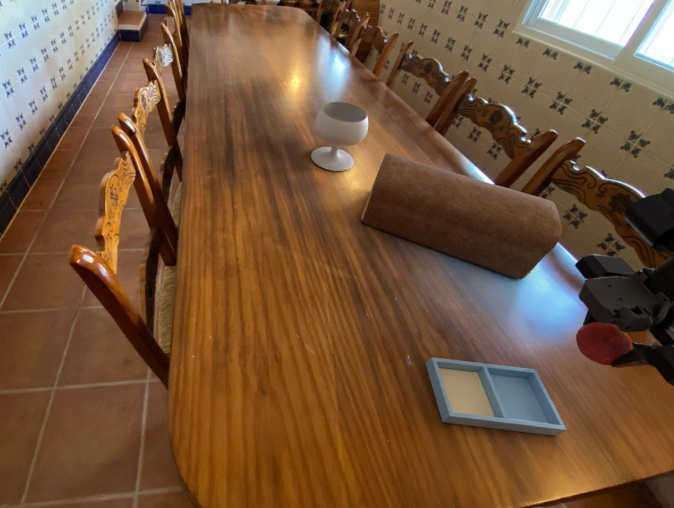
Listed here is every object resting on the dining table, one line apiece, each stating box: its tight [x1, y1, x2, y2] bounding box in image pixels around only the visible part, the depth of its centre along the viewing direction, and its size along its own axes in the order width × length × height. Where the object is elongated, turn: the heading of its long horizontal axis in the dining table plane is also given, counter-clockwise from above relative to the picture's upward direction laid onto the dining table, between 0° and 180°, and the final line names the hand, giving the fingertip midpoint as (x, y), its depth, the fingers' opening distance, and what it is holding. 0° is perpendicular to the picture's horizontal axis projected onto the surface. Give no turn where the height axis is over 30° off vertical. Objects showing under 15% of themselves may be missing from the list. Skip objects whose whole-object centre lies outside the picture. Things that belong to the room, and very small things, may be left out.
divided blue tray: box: [425, 356, 568, 437], centre depth 54 cm, size 8×16×2 cm, turn 85°
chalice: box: [310, 101, 369, 172], centre depth 97 cm, size 14×14×15 cm
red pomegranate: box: [575, 322, 633, 366], centre depth 52 cm, size 6×6×8 cm
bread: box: [360, 152, 563, 281], centre depth 77 cm, size 14×34×14 cm, turn 63°
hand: (599, 345), depth 53 cm, fingers closed on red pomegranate, 6 cm apart
